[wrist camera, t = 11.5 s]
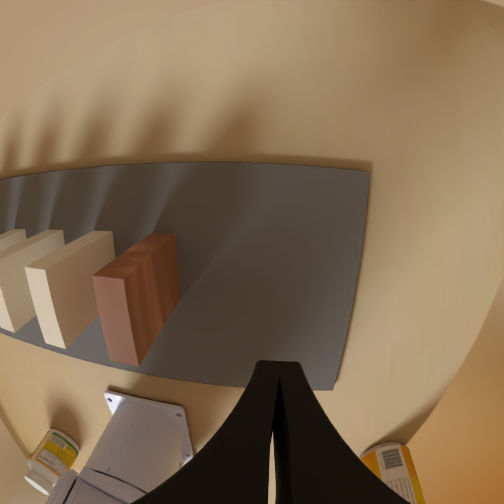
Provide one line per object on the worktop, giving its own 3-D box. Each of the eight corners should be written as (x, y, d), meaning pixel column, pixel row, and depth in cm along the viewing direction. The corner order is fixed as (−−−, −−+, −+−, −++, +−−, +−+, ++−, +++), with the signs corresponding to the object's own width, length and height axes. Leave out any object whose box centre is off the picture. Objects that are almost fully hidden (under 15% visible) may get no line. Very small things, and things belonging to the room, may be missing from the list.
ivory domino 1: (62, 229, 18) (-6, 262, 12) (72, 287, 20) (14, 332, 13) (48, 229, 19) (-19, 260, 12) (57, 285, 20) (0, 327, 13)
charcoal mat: (332, 386, 21) (332, 390, 21) (2, 330, 23) (0, 332, 23) (367, 171, 16) (369, 171, 16) (-28, 185, 18) (-32, 185, 18)
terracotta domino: (176, 233, 18) (123, 279, 11) (179, 300, 19) (139, 366, 13) (152, 232, 18) (91, 275, 11) (157, 298, 19) (110, 360, 13)
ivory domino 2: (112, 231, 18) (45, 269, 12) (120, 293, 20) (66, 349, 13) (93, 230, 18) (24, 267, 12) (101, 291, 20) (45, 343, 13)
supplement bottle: (65, 429, 28) (34, 479, 19) (87, 454, 29) (61, 502, 20) (43, 425, 29) (13, 469, 20) (64, 449, 30) (39, 492, 21)
